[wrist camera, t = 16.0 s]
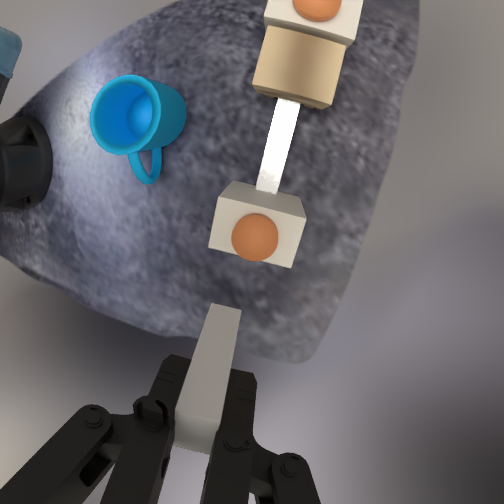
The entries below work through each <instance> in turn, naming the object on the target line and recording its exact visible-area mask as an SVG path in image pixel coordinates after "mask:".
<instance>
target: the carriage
mask: <svg viewBox="0 0 504 504" xmlns="http://www.w3.org/2000/svg"><path fill="white" fill-rule="evenodd" d="M345 49H346V46H345V45H342V44H339V43H336V42H333V41H329V40H326V39H323V38H319V37H316V36H312V35H308V34H304V33H301V32H297V31H292V30H288V29H284V28H279V27H274V26H269V25H268V27H267V31H266V34H265V38H264V41H263V45H262V49H261V52H260V56H259V60H258V63H257V67H256V71H255V75H254V78H253V82H252V85H253V87H254V89H255V90H256V92H257V93H260V94H264V95H265V97H269V98H273V99H274V97H277V98H281V99H285V100H289V101H293V102H297V103H300V104H304V107H308V108H311V109H313V108H314V107H315V108H318V109H321V110H322V109H324V108H326V107H328V106H330V105H332V101H333V97H334V93H335V90H336V86H337V82H338V78H339V74H340V69H341V65H342V61H343V57H344V53H345Z"/></svg>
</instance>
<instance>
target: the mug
mask: <svg viewBox="0 0 504 504" xmlns="http://www.w3.org/2000/svg"><path fill="white" fill-rule="evenodd" d="M185 121H186V106H185V103H184V99H183V98H182V97H181V95H180V94H179V93H178V91H176V90H175V89H173V88H172V87H170V86H167V85H165V84H162V83H159V82H156V81H153V80H150V79H147V78H144V77H141V76H136V75H131V74H130V75H124V76H119V77H117V78H115V79H113V80H111V81H109V82H108V83H107V84H106V85H105V86H104V87H103V88H102V89H101V90H100V91H99V92H98V94H97V96H96V97H95V99H94V101H93V104H92V108H91V111H90V127H91V131H92V134H93V137H94V138H95V140H96V142H97V143H98V145H99V146H101V147H102V148H103V149H104V150H106V151H107V152H110V153H113V154H116V155H126V154H128V159H129V162H130V165H131V167H132V170H133V172H134V174H135V175H136V177H137V178H138V180H140V181H141V182H142V183H143V184H153V183H154V182H155V181H156V180H157V179H158V177H159V175H160V172H161V165H162V150H161V147H163V146H166V145H169V144H170V143H171V142H172V141H174V140H175V139H176V138H177V137H178V135H179V134H180V133H181V131H182V130H183V127H184V124H185ZM147 150H152V167H151V172H150V175H148V174H147V173H146V171H145V169H144V168H143V165H142V162H141V160H140V157H139V152H142V151H147Z"/></svg>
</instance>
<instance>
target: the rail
mask: <svg viewBox="0 0 504 504" xmlns="http://www.w3.org/2000/svg"><path fill="white" fill-rule="evenodd" d="M299 107H300V103H297V102H293V101H289V100H285V99H281V98H278V101H277V105H276V109H275V113H274V117H273V121H272V124H271V128H270V132H269V136H268V140H267V144H266V148H265V152H264V156H263V160H262V164H261V168H260V172H259V176H258V180H257V184H256V188H255V189H257V190H261V191H265V192H269V193H273V194H277V191H278V187H279V183H280V179H281V176H282V172H283V168H284V164H285V161H286V157H287V153H288V149H289V146H290V142H291V138H292V134H293V130H294V127H295V123H296V119H297V115H298V111H299Z"/></svg>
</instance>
